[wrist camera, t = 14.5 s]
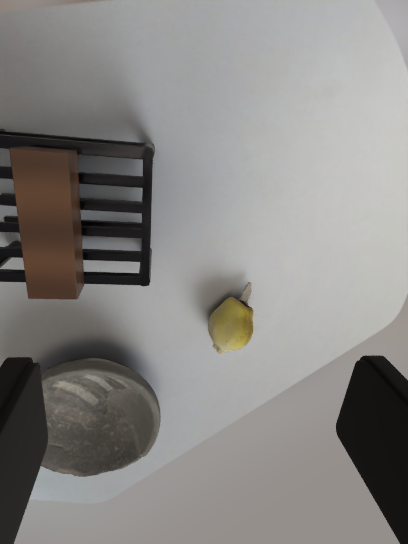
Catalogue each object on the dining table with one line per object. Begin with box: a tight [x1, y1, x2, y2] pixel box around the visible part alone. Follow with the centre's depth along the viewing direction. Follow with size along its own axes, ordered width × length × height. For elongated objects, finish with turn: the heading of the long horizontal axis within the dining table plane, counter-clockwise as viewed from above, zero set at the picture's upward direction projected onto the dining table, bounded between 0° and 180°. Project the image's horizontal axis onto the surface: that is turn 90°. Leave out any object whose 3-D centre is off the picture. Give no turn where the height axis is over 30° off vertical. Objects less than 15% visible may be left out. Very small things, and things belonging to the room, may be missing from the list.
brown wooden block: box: [9, 146, 84, 299], centre depth 28 cm, size 12×4×4 cm, turn 175°
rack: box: [0, 129, 155, 286], centre depth 34 cm, size 13×16×9 cm
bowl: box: [41, 358, 160, 477], centre depth 45 cm, size 18×18×8 cm
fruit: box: [208, 282, 253, 354], centre depth 44 cm, size 6×6×10 cm
